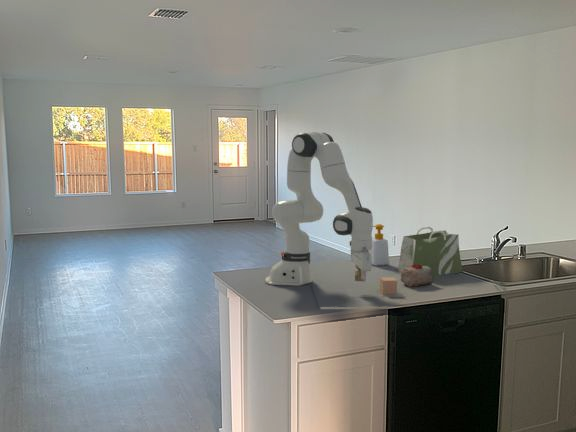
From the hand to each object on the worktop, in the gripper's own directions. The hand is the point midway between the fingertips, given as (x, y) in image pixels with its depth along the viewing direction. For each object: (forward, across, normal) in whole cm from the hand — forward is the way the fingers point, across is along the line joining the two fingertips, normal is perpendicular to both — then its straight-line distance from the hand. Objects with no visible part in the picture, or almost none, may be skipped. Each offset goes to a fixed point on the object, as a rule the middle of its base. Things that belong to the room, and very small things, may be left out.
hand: (360, 276), depth 241 cm
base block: (+8, -2, -12) cm, 15 cm away
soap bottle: (+10, +61, -26) cm, 67 cm away
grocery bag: (+9, +38, -48) cm, 62 cm away
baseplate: (+8, -2, -6) cm, 10 cm away
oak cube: (+2, 0, 0) cm, 2 cm away
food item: (+8, +14, -31) cm, 35 cm away
